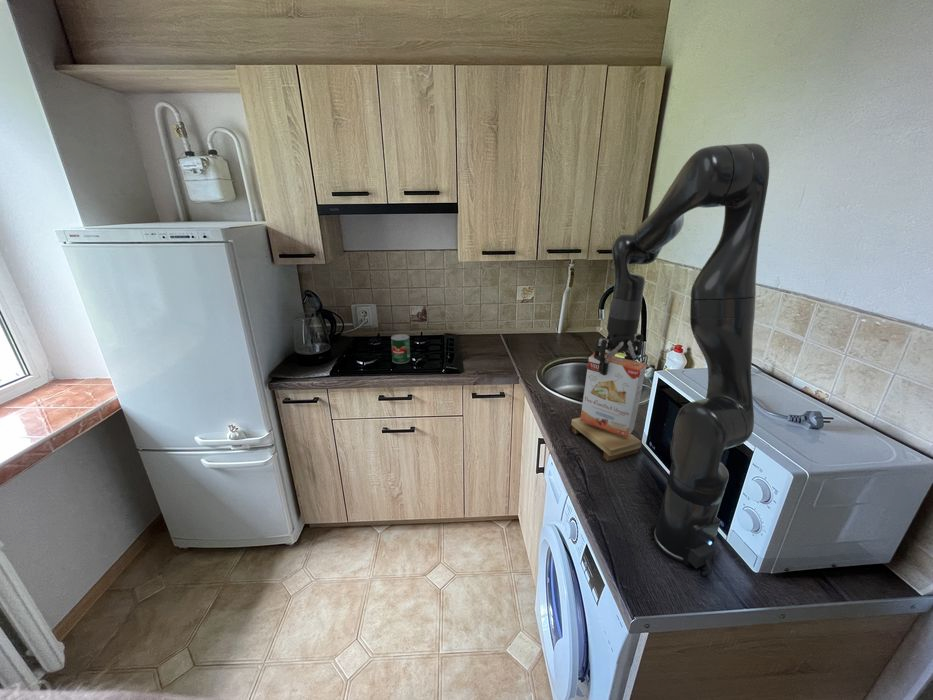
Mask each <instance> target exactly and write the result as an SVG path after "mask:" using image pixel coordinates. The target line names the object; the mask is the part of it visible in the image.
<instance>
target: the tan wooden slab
mask: <svg viewBox="0 0 933 700" xmlns="http://www.w3.org/2000/svg"><path fill="white" fill-rule="evenodd" d="M580 418H581V416H580V417H576V418H572V419H571V423H570V425H571V432H572V433H573V434H574V435H579V434H582V435H583V436H584V437H586V438H587V439H588V440H589V441H591V442H592V443H593V444H594V445H596V446H597V448H599V449H600V450H602V451H603V454H602V459H604V460H605V461H606V462H611V461H614V460H618V459H621V458H624V457H627V456H631V455H635V454H637V453H639V451H640V449H641V448H642V444H643V441H642V440H641V439H639V438H638V437H636V436H635V435H633V434H632V433H631V434H630V435H629V436H628V438H626V437H623V436H620V435H618V434H615V433H612V432H610V431H607V430H604V429H602V428H599V427H596V426H594V425H591V424H588V423H586V422H583V421H580Z"/></svg>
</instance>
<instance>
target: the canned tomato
mask: <svg viewBox="0 0 933 700" xmlns="http://www.w3.org/2000/svg"><path fill="white" fill-rule="evenodd" d="M390 340H391V341H390V343H391V359H392V360H391V361H392V363H393V364H397V365H398V364H401V365H403V364H406V363H409V362H410V361H411V346H410V345H411V344H410V335H409V334H404V333H398V334H397V333H396V334H394V335H393V334H392V335H391V337H390Z"/></svg>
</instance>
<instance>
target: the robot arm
mask: <svg viewBox="0 0 933 700" xmlns="http://www.w3.org/2000/svg"><path fill="white" fill-rule="evenodd" d="M768 154H769V153H768V151H767V149H766V148H765V147H764V146H763V145H761V144H759V143H733V144H720V145H711V146H706V147H702V148H700V149H698V150H697V151H695V152H694V153H693V154H692V155H691V156H690V157H689V158H688V160H687V161H686V162H685V163H684V165H683V166H682V168H681V169H680V170H679V172H678V173H677V175H676V177H675V178H674V180H673V182H672V183H671V184H670V186H669V187H668V189H667V191H666V192H665V194H664V195H663V196H662V199H661V201H660V202H659V203H658V205H657V206H656V207H655V209H654V210H653V211H652V212H651V213H650V214H649V215H648V216H647V217H646V218H645V219H644V220H643V221H642V222H641V223H640V224H639V225H637V228H636V229H635V230H634V233H633V234H620V235H619V236H617V237H616V239H615V240H614V242H613V243H612V246H611V257H612V263H613V269H614V270H613V271H614V285H613V290H612V291H613V292H612V298H611V302H610V305H609V311H608V319H607V323H606V324H607V325H606V330H607V336H606V338H602V337H597V338H596V343H595V347H594V353H595V354H594V353H593V354H594V358H595V359H597V360H599V361H600V364H599V372H600V374H602V375H607V371H608V364H609V363H608V362H609V360H610V359H611V357H614V356H616V355H617V354H619V353H624V354H625V356H624V359H628V360H632V361H634V359H635V358H636V356H641V354H642V351H643V350H642V349H643V343H644V338H645V337H644V335H643V334H642V333H639V332H638V330H639V325H640V319H641V313H642V307H643V306H642V305H643V296H644V290H645V285H646V278H645V276H643V275H642V274H639V273H634V272H631V271H630V270H629V265H649V264H652V263H654V262H655V261H656V260H657V259H658V257H659V254H660V253H661V251H662V250H663V247H665V246H666V245H667V244H669V243H670V242H672V241H673V240H674V239H675V238H676V237H677V236H678V235H679V234H680V233H681V231H682V229H683V227H684V224H685V214H686V213H688V212H690V211H691V210H694V209H696V208H703V209H704V208H705V209H709V208H721V207H724V219H723V226H722V231H721V235H720V238H719V240H718V243H717V244H716V246H715V248H714V250H713V252H712V253H711V254H710V256H709V258H708V259H707V260H706V262H705V263H704V265H703V266H702V267H701V270H700V271H699V272H698V274H697V276H696V278H695V279H694V282H693V284H692V286H691V291H690V305H689V307H690V309H689V310H690V311H689V321H690V329H691V332H692V335H693V337H694V339H695V342H696V345H697V346H698V348H699V349H700V352H701V354H702V355H703V357H704V360H705V364H706V367H707V392H706V397H705V398H703V399H698V400H694V401H691V402H688V403H685V404H684V405H683V406H682V407H681V408H680V409H679V411H678V413H677V415H676V418H675V420H674V425H673V431H672V436H671V443H670V448H669V456H670V460H671V465H670V469H669V473H668V477H667V481H666V485H665V488H664V489H665V490H664V493H663V498H662V501H661V505H660V510H659V513H658V518H657V521H656V525H655V528H654V532H653V540H654V542H655V544H656V546H657V548H658V549H660V550H661V551H662V552H663V553H664V554H665V555H667V556H668V557H670V558H671V559H673V560H675V561H677V562H680V563H682V564H684V565H685V567H691V566H693V568H695V569H698V568H701V567H702V566H706V570H703V571H702V572H701V574H702V576H704V577H706V576H710V575H711V574H712V572H713V569H712V565H711V563H712V560H713V557H714V554H715V552H716V551H715V549H714V547H713V546H714V544H715V540H716V538H717V534H718V531H719V528H720V525H721V522H722V521H721V519H720V518H719V517H717V516H718V513H719V510H720V507H721V503H722V501H723V497H724V494H725V492H726V488H727V485H728V482H729V479H730V474H729V470H728V469H727V467H726V466H725V465H724V463H723V462H722V461H721V460H722V457H723V453H724V451H726V450H728V449H729V450H730V449H731V448H735V447H737V446H740V445H742V444H745V442H747V441H748V440H749V439H750V437H751V436H752V434H753V432H754V426H755V410H754V409H755V408H754V397H753V396H754V395H753V386H752V385H753V383H752V361H753V340H754V339H753V338H754V336H753V335H754V325H755V314H756V295H757V293H756V292H757V284H756V283H757V267H758V266H757V265H758V255H759V254H758V253H759V246H760V245H759V243H760V234H761V229H762V228H761V227H762V222H763V216H764V211H765V205H766V200H767V195H768V186H769V179H770V158H769V155H768ZM599 352H600V355H599ZM607 354H608V355H607ZM606 355H607V357H606V358H605V356H606Z"/></svg>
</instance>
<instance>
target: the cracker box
mask: <svg viewBox="0 0 933 700" xmlns="http://www.w3.org/2000/svg"><path fill="white" fill-rule="evenodd" d="M594 354H595V352H594V353H593V354H591V355H590V356H589V357H588V362H587V369H586V376H585V384H584V390H583V397H582V405H581V412H580V417H581V418H580V417H579V418H580V421H583V422H586V423H588V424H591V425H594V426H596V427H599V428H602V429H604V430H607V431H610V432H612V433H615V434H618V435H620V436H623V437H626V438H628V436H629V435H630V434H632V432H633V431H634V430H635V426H636V421H637V416H638V412H639V411H638V410H639V407H640V406H639V405H640V401H641V396H642V391H643V386H644V381H645V375H646V369H647V365H648V364H647V363H645V362H640V361H636V360H633V361H632V360H628V359H625V357H624V358H623V357H620V356H616V355H615V356H614V357H611V359H610V360H609V362H608V363H609V364H608V371H607V375H602V374H600V372H599V364H600V361H599V360H597V359H595V358H594ZM599 355H600V352H599ZM607 355H608V354H607ZM607 355H606V356H605V358H606V357H607Z"/></svg>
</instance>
